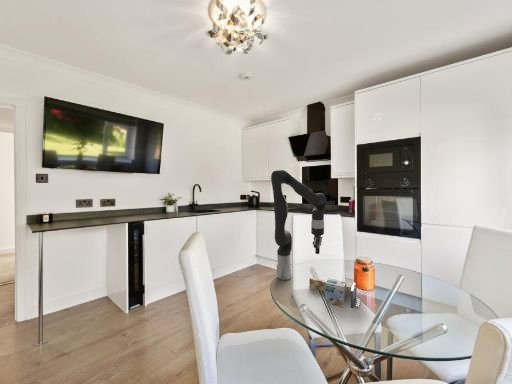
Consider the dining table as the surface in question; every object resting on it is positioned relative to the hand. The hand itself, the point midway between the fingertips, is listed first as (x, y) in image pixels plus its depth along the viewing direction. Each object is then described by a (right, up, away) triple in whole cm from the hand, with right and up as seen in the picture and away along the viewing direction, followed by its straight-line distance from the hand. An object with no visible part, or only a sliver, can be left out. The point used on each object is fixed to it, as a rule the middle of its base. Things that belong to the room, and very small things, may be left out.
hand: (317, 253), depth 151 cm
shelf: (+6, -25, -5) cm, 26 cm away
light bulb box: (+9, -25, -7) cm, 28 cm away
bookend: (+19, -25, -12) cm, 34 cm away
